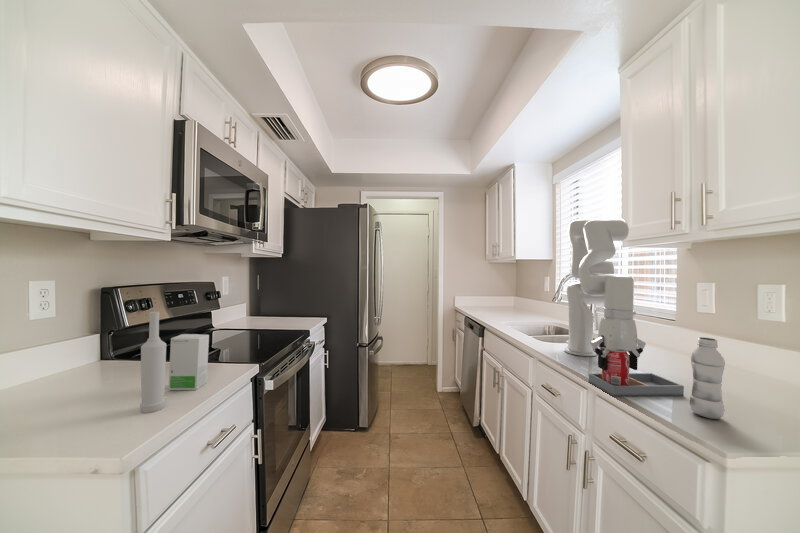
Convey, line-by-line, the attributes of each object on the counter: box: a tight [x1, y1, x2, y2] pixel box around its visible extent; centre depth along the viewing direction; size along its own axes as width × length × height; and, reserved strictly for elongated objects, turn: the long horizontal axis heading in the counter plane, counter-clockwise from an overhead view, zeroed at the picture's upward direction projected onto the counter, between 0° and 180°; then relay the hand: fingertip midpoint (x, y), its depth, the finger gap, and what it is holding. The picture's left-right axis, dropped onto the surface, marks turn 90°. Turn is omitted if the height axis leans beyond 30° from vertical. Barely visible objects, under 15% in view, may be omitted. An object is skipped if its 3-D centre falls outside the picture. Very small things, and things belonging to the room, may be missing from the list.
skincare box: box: [167, 333, 210, 391], centre depth 96 cm, size 8×7×16 cm
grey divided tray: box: [588, 372, 685, 398], centre depth 98 cm, size 11×22×3 cm, turn 93°
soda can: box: [601, 351, 630, 386], centre depth 98 cm, size 7×7×12 cm
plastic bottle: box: [689, 336, 726, 420], centre depth 80 cm, size 6×7×20 cm
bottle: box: [139, 311, 167, 414], centre depth 81 cm, size 5×5×25 cm
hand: (617, 368), depth 98 cm, fingers open, 9 cm apart
